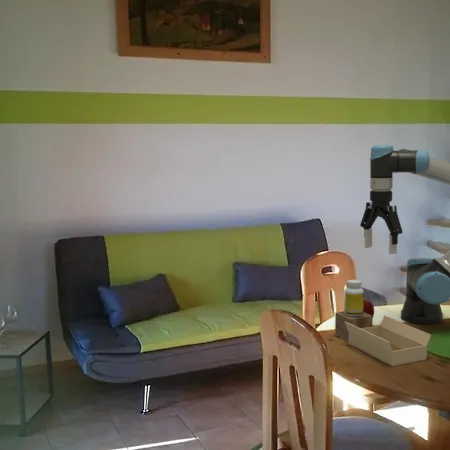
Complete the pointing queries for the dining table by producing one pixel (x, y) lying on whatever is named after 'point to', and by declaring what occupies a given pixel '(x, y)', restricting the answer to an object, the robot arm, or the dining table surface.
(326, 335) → the dining table surface
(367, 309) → the apple
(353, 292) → the pill bottle
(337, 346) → the dining table surface
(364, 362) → the dining table surface
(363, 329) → the carton
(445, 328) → the dining table surface
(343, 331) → the block
